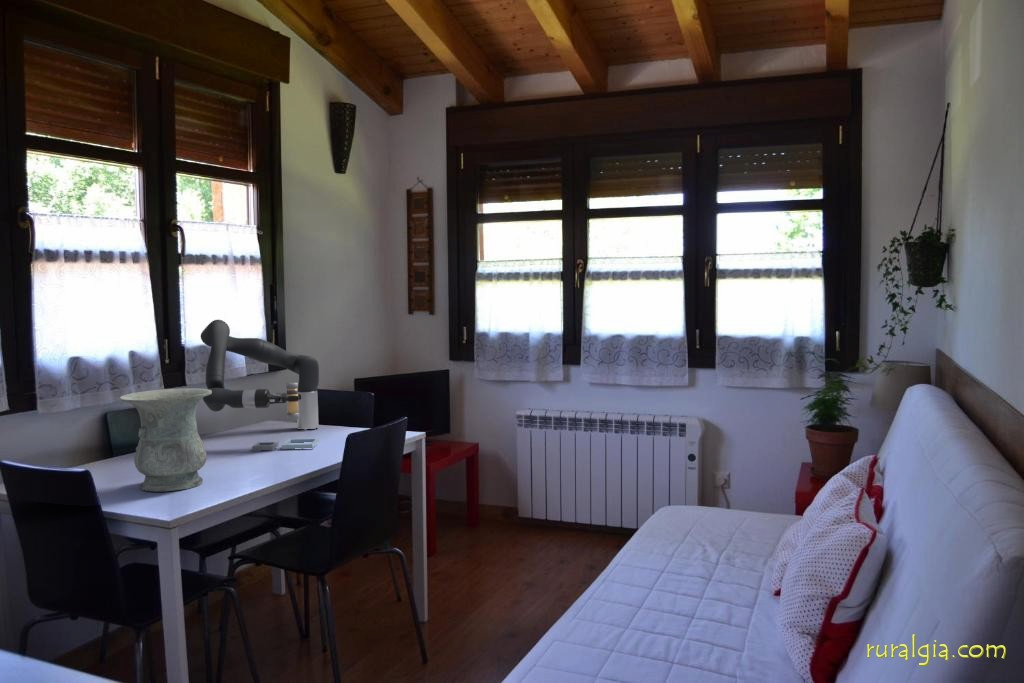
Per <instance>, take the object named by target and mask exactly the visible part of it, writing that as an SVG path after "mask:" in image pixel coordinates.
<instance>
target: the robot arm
mask: <svg viewBox="0 0 1024 683" xmlns="http://www.w3.org/2000/svg"><path fill="white" fill-rule="evenodd" d="M230 330H231V329H230V326H229V325H228V323H227V322H225V321H224V320H222V319H214V320H212V321H211V322H209V323H208V325H207V326H205V328H204V329H203V330H202V331H201V333H200V340H201V341H202V343H203V344H204V345H206V346H208V347H210V352H209V356H208V358H207V363H206V368H205V369H206V370H205V386H206V389H209V390H211V391H212V393H211V394H210V395H207V396H205V397H203V398H202V401H203V402H204V404H205V405H206V407H208V409H209V410H210V411H212V412H220V411H221V410H223V409H224V407H225V406H229V407H230V408H233V409H245V408H246V409H268V408H269V407H270V406H271V405H276V404H285V403H287V402H288V401H289V402H297V401H298V409H299V418H296V420H297V421H296V423H297V424H296V426H297V429H298V428H300V429H308V428H314V427H317V426H318V427H319V400H318V398H319V396H318V386H319V381H320V374H319V373H320V366H319V362H318V360H317V359H316V358H315V357H313V356H310V355H304V354H299V353H294V352H290V351H287V350H285V349H283V348H281V347H280V346H278V345H276V344H274V343H272V342H270V341H267V340H264V339H261V338H257V337H256V338H255V337H243V338H242V337H233V336H231V335H230V333H231V331H230ZM227 352H230V353H233V354H236V355H239V356H243V357H246V358H249V359H252V360H253V361H254V360H255V361H258V362H260V363H264V364H268V365H272V366H277V367H282V368H284V369H287V370H289V371H291V372H293V373H295V374H297V375H298V396H289V397H288V396H287V392H273V393H272V394H271V392H270V390H269V389H268V388H256V389H255V388H253V389H239V390H232V389H230V388H229V389H228V388H225V367H226V366H225V363H226V355H227Z"/></svg>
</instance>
